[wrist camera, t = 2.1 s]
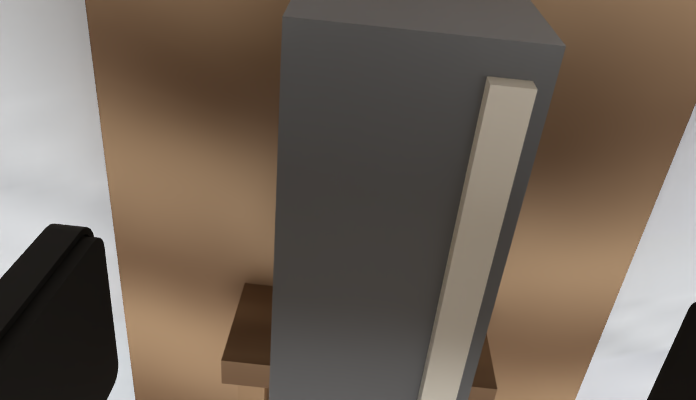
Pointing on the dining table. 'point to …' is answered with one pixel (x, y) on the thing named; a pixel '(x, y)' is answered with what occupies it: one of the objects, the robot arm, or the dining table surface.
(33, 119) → the dining table surface
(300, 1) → the dark grey box
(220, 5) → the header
